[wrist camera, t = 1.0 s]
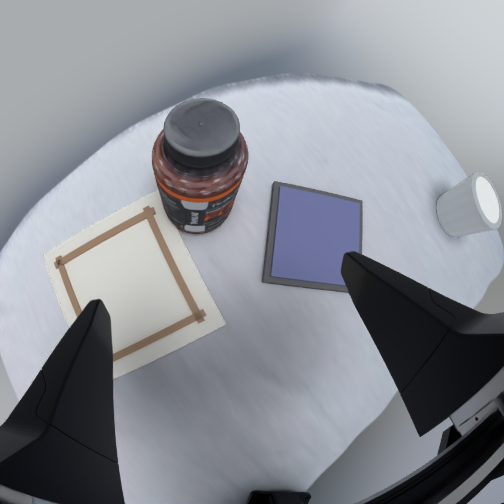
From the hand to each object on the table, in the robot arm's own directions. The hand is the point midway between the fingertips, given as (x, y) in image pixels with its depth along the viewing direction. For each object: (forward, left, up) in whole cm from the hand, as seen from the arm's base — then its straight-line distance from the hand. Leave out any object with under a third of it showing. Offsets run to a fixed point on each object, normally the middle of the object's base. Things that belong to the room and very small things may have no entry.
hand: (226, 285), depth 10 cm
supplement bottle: (+7, +4, -14) cm, 16 cm away
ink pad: (+7, -7, -14) cm, 17 cm away
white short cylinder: (+16, -25, -14) cm, 33 cm away
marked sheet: (-2, +8, -14) cm, 16 cm away
